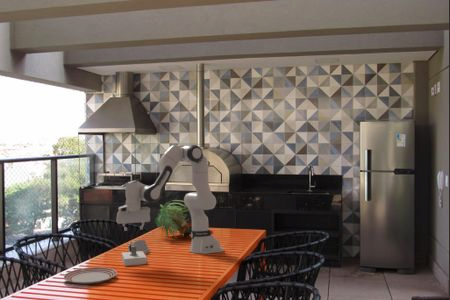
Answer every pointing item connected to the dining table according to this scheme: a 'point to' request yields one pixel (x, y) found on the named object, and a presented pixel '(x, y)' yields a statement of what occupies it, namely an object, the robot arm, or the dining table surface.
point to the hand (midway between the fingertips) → (133, 230)
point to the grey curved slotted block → (139, 246)
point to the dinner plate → (90, 275)
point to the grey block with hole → (134, 258)
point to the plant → (174, 220)
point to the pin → (133, 251)
